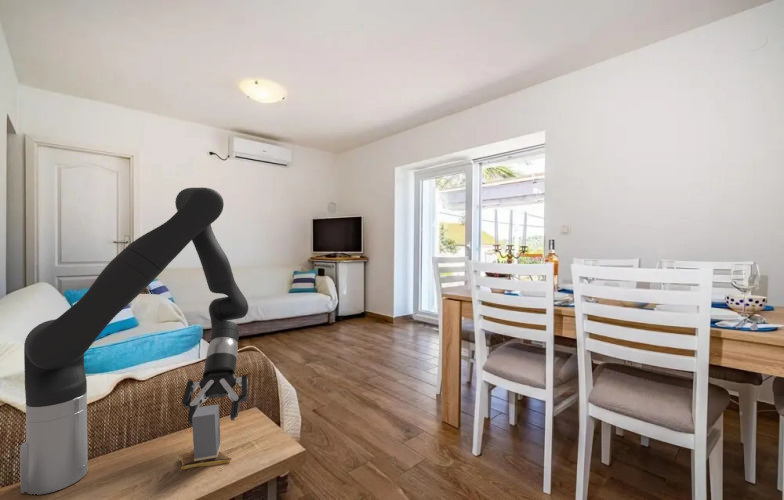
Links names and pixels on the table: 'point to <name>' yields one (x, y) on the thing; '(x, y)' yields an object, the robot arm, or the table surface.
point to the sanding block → (206, 432)
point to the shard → (189, 461)
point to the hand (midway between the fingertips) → (212, 421)
